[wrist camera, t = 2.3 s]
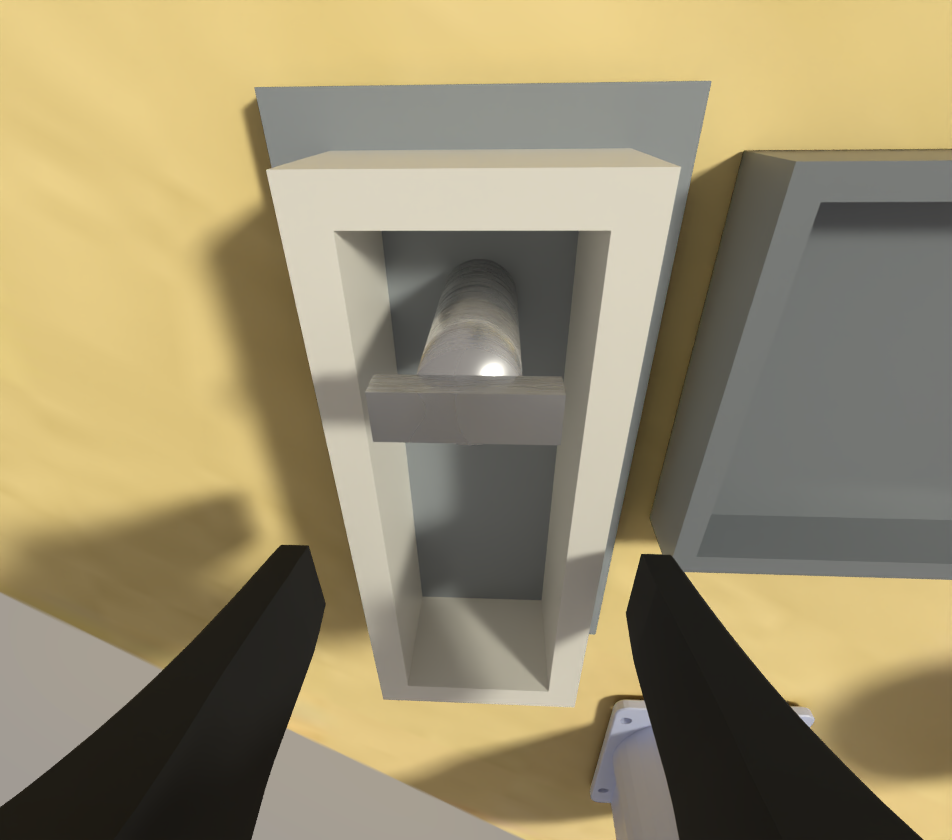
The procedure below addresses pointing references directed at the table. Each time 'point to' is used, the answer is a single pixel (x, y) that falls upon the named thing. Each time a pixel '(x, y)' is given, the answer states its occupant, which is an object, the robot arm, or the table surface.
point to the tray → (821, 375)
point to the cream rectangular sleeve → (372, 352)
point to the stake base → (493, 478)
